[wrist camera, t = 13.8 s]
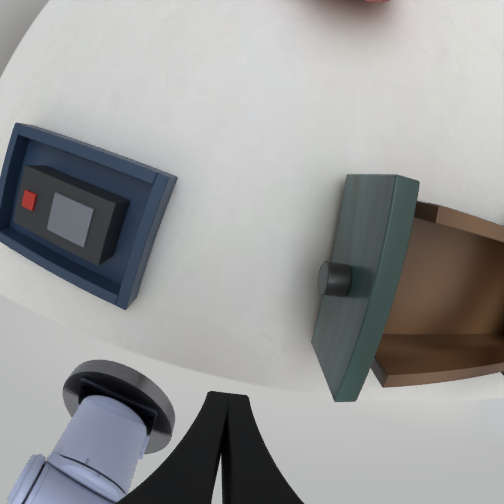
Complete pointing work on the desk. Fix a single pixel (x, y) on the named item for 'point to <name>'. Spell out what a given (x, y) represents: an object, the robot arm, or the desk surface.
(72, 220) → the remote
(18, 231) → the tray
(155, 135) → the desk surface
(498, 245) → the drawer
